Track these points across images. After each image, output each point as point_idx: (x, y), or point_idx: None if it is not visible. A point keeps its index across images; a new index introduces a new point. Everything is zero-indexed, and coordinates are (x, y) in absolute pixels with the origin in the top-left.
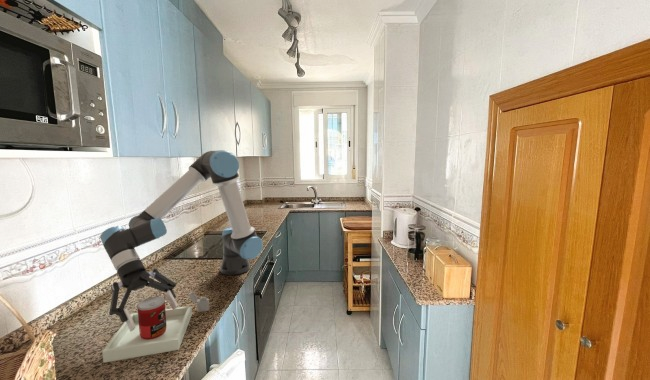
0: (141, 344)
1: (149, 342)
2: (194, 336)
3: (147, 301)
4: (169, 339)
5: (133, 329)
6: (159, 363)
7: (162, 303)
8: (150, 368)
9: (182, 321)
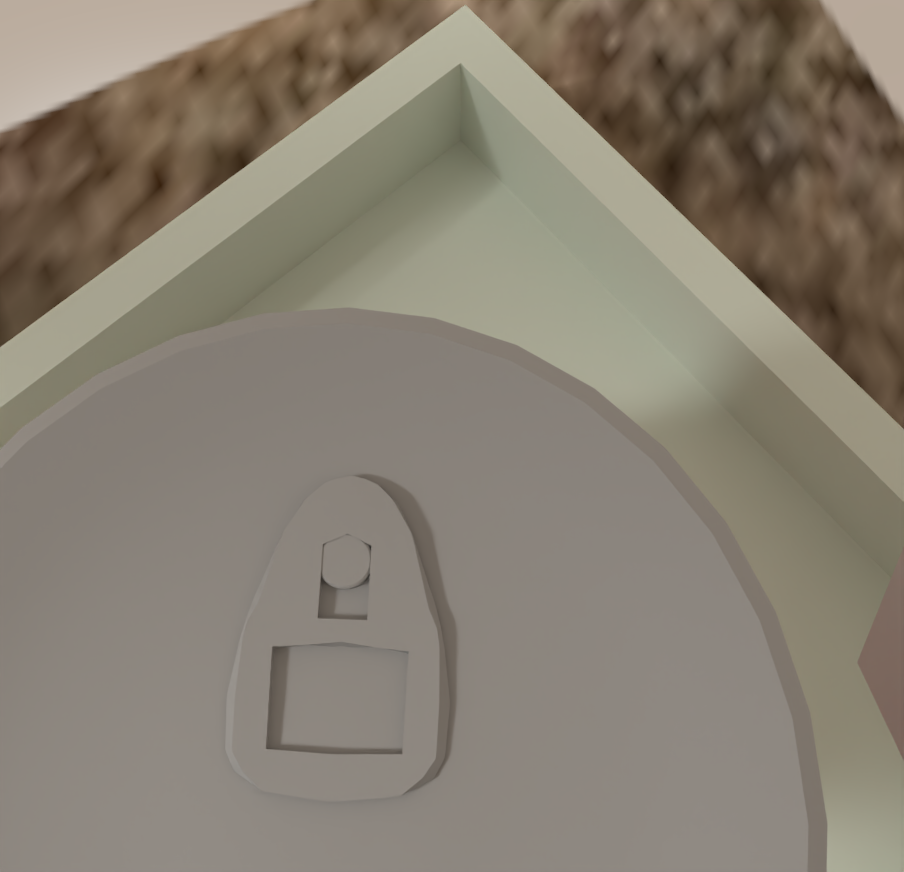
0: (806, 364)
1: (714, 300)
2: (200, 149)
3: None
4: (525, 101)
5: (880, 626)
6: (714, 107)
7: (173, 354)
8: (809, 124)
9: (102, 325)
